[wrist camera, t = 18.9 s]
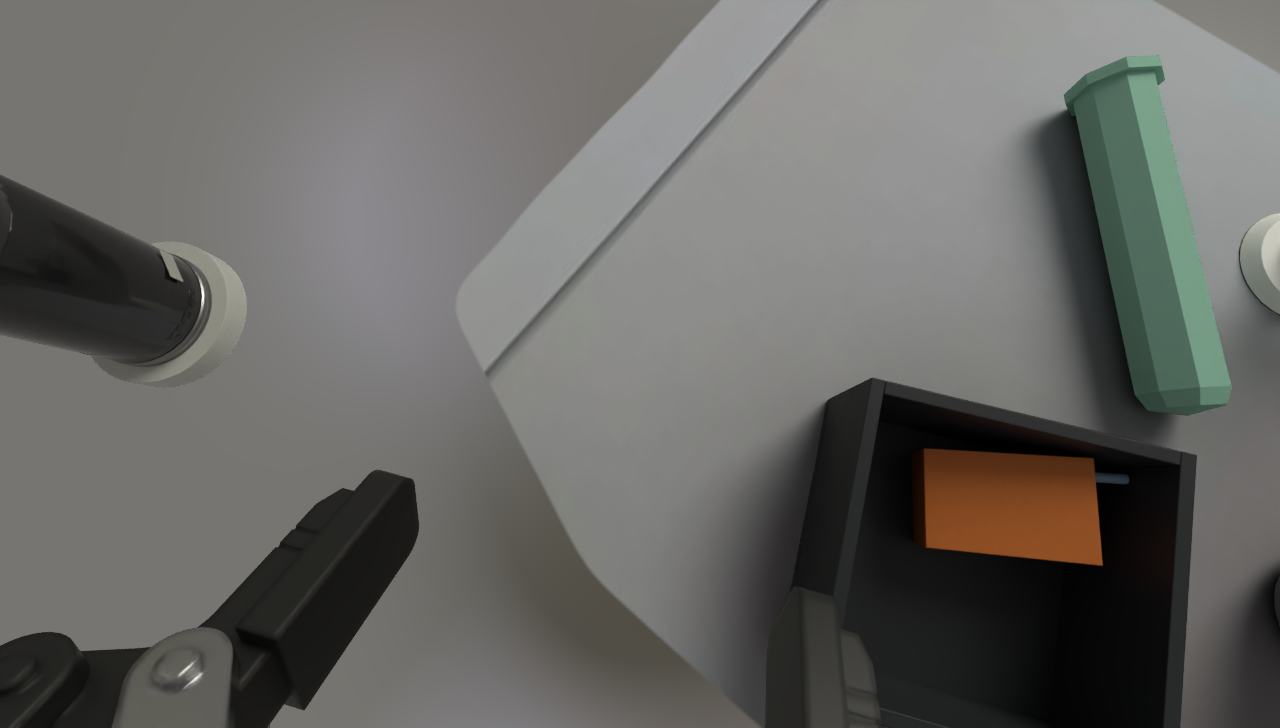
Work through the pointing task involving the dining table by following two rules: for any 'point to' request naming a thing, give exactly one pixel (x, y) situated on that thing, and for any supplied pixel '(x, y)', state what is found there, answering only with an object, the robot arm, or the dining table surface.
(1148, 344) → the container
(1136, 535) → the bin
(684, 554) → the dining table surface
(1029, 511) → the juice box
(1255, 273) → the figurine
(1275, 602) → the smart speaker
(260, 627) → the robot arm
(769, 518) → the dining table surface
